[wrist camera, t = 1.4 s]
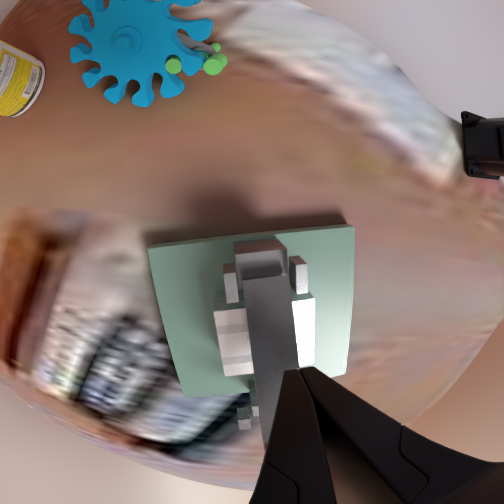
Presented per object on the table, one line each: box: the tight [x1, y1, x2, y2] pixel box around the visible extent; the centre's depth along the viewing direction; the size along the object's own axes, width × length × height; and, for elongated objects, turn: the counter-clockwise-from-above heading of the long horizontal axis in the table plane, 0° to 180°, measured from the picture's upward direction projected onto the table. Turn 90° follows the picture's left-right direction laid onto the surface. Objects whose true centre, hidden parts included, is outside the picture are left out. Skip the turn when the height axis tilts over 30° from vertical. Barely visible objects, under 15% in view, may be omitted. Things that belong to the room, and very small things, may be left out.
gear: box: [68, 0, 227, 107], centre depth 12 cm, size 11×6×10 cm
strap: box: [242, 275, 300, 452], centre depth 13 cm, size 11×2×2 cm, turn 5°
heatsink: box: [213, 285, 315, 376], centre depth 18 cm, size 6×5×3 cm
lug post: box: [237, 380, 259, 430], centre depth 19 cm, size 4×1×6 cm, turn 95°
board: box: [147, 224, 355, 397], centre depth 20 cm, size 14×13×1 cm
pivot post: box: [223, 237, 308, 303], centre depth 16 cm, size 4×2×6 cm, turn 95°
